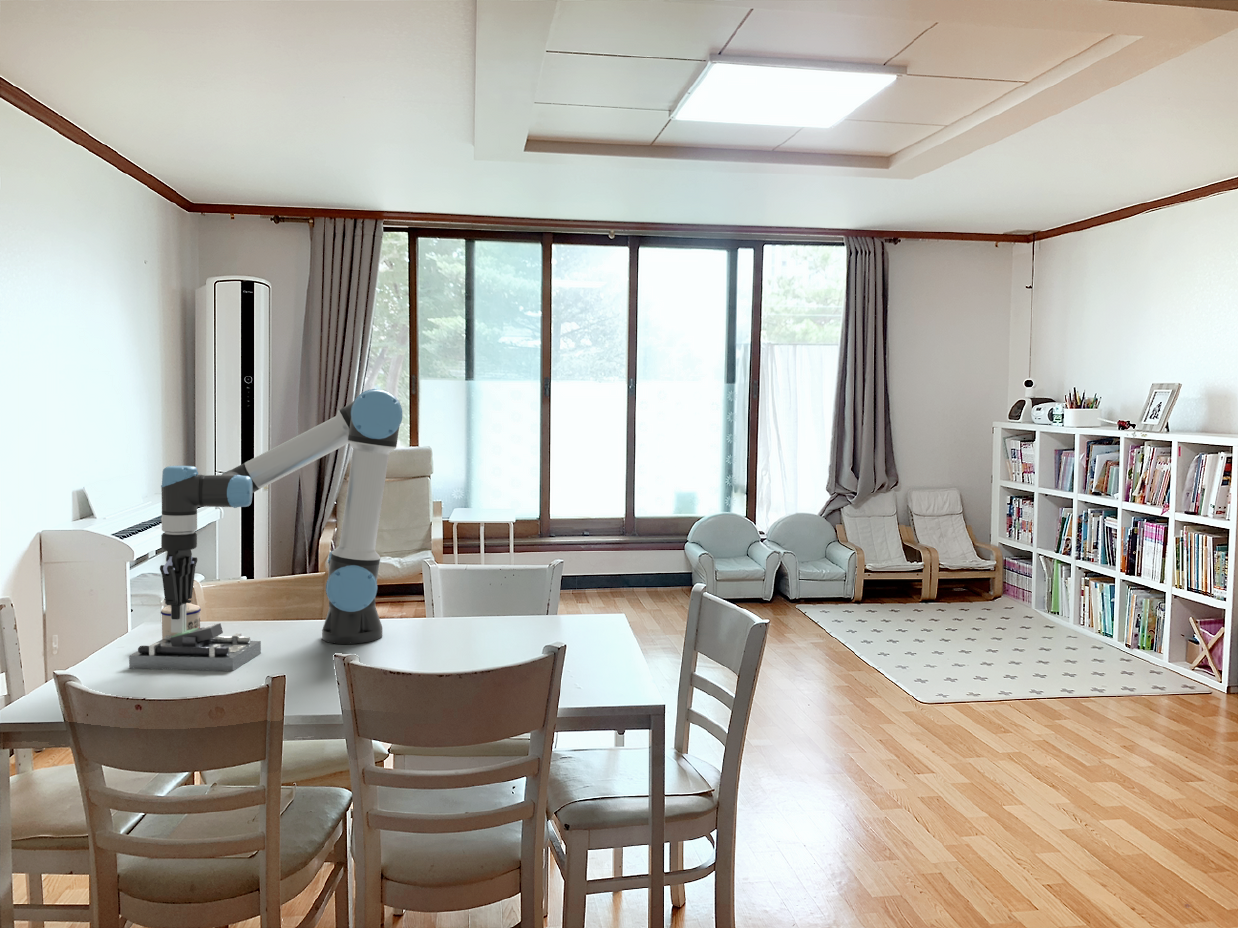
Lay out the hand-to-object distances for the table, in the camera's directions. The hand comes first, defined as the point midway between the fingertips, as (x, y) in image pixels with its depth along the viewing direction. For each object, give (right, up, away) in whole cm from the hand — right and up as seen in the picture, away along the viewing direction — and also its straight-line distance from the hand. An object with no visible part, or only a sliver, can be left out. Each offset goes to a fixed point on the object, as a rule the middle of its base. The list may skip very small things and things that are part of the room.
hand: (178, 631), depth 219 cm
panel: (+4, -7, 0) cm, 8 cm away
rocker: (+4, -2, 0) cm, 5 cm away
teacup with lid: (-6, -6, +16) cm, 18 cm away
